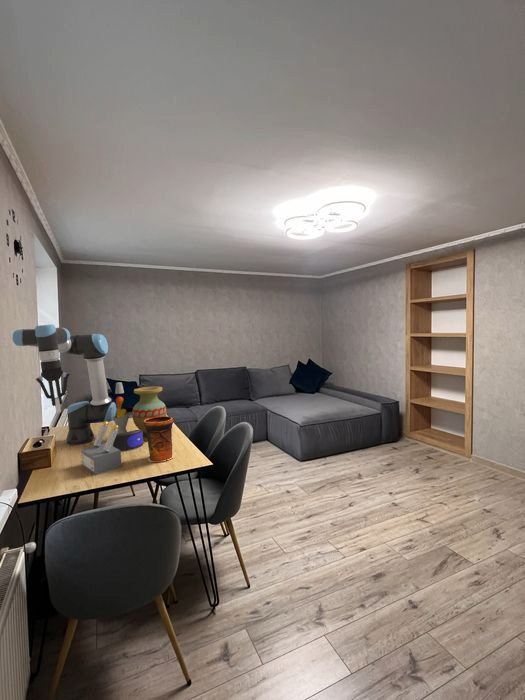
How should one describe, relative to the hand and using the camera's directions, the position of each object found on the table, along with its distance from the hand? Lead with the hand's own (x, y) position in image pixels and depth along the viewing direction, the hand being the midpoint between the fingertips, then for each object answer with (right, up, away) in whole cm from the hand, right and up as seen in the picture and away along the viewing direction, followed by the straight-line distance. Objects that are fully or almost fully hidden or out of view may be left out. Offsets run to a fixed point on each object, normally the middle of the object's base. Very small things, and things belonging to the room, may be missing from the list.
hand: (58, 412), depth 154 cm
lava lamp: (+8, -27, +50) cm, 58 cm away
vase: (+24, -26, +55) cm, 65 cm away
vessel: (+40, -27, +20) cm, 52 cm away
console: (+14, -28, +12) cm, 34 cm away
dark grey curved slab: (+17, -27, +37) cm, 49 cm away
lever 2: (+18, -20, +7) cm, 28 cm away
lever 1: (+9, -20, +15) cm, 27 cm away
